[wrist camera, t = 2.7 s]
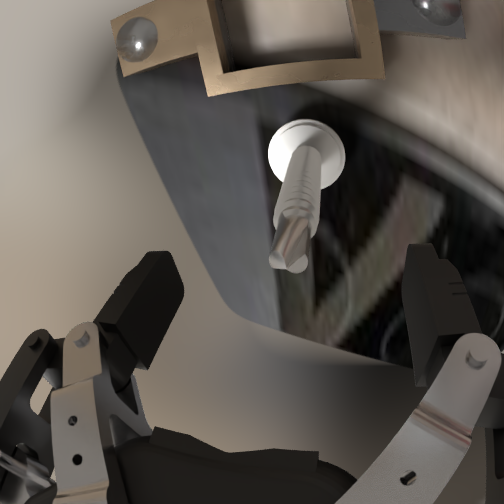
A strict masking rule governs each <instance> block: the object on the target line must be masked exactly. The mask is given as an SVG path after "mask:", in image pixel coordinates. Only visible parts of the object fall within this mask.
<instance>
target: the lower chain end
mask: <svg viewBox="0 0 504 504" xmlns="http://www.w3.org/2000/svg"><path fill="white" fill-rule="evenodd" d="M373 1H374V6H375V11H376V17H377V22H378V28H379V34H397V35H412V36H423V37H433V38H441V39H466V36H465V28H464V22H463V16H462V10H461V5H460V0H373ZM214 2H215V6H216V10H217V15H218V19H219V24H220V28H221V33H222V37H223V41H224V46H225V51H226V55H227V60H228V64H229V69H230V72H234V71H236V66H235V62H234V57H233V52H232V48H231V43H230V39H229V34H228V30H227V25H226V21H225V16H224V12H223V7H222V3H221V0H214ZM346 5H347V10H348V15H349V20H350V25H351V31H352V37H353V43H354V49H355V56H356V58H358V51H357V44H356V38H355V32H354V27H353V21H352V16H351V11H350V6H349V1H348V0H346ZM346 59H354V58H346ZM326 60H330V59H326ZM313 61H315V60H313ZM302 62H304V61H302ZM292 63H294V62H292ZM284 64H285V63H284ZM276 65H277V64H276ZM269 66H270V65H269ZM262 67H263V66H262ZM256 68H257V67H256ZM250 69H251V68H250ZM244 70H245V69H244ZM238 71H240V70H238Z"/></svg>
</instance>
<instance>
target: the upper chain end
mask: <svg viewBox="0 0 504 504" xmlns="http://www.w3.org/2000/svg"><path fill="white" fill-rule="evenodd" d="M348 1H349V6H350V11H351V16H352V21H353V27H354V32H355V38H356V44H357V51H358V58H354V59H330V60H315V61H304V62H294V63H285V64H277V65H270V66H263V67H257V68H251V69H245V70H240V71H234V72H230V69H229V64H228V60H227V55H226V51H225V46H224V41H223V37H222V33H221V28H220V24H219V19H218V15H217V10H216V6H215V2H214V0H155V1H152V2H150V3H148V4H145V5H143V6H141V7H138V8H136V9H134V10H132V11H130V12H127V13H125V14H123V15H121V16H119V17H117V18H115V19H113V20H111V26H112V30H113V35H114V39H115V44H116V48H117V52H118V56H119V60H120V64H121V68H122V72H123V76H124V77H126V76H130V75H134V74H139V73H143V72H147V71H150V70H153V69H156V68H159V67H162V66H165V65H168V64H171V63H175V62H178V61H181V60H185V59H188V58H192V57H196V56H199V60H200V64H201V68H202V73H203V77H204V81H205V86H206V90H207V94H208V97H209V96H214V95H219V94H224V93H229V92H235V91H241V90H247V89H253V88H260V87H267V86H274V85H282V84H291V83H301V82H312V81H326V80H346V79H385V71H384V62H383V55H382V47H381V40H380V34H379V28H378V22H377V17H376V11H375V6H374V1H373V0H348Z"/></svg>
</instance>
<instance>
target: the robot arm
mask: <svg viewBox="0 0 504 504" xmlns="http://www.w3.org/2000/svg"><path fill="white" fill-rule="evenodd" d="M183 297H184V285H183V282H182V280H181V277H180V275H179V272H178V270H177V267H176V265H175V262H174V260H173V257H172V255H171V253H170V252H168V251H149V252H147V253H146V254H145V256H144V257H143V258H142V260H141V261H140V262H139V264H138V265H137V266H136V267H134V268H133V269H132V270H131V271H130V272H128V273H127V274H126V275H125V277H124V278H123V279H122V281H121V282H120V285H119V286H117V288H116V289H115V291H114V294H112V295H111V296H110V298H109V299H108V301H107V302H106V303H105V305H104V306H103V308H102V309H101V311H100V312H99V314H98V315H97V317H96V318H95V319H94V321H93V322H84V323H81V324H79V325H77V326H75V327H74V328H73V329H72V330H71V331H70V332H69V333H68V334H67V336H66V338H60V339H53V337H52V336H51V335H50V334H49V333H48V331H47V330H45V329H39V330H36V331H34V332H33V333H32V334H30V335H29V336H28V337H27V339H26V340H25V341H24V343H23V345H22V346H21V348H20V349H19V351H18V352H17V354H16V355H15V357H14V359H13V360H12V362H11V364H10V365H9V367H8V369H7V370H6V372H5V374H4V375H3V377H2V379H1V381H0V504H433V503H434V501H435V500H436V498H437V497H438V496H439V494H440V493H441V491H442V490H443V489H444V487H445V486H446V484H447V483H448V481H449V479H450V478H451V476H452V475H453V473H454V472H455V470H456V469H457V467H458V465H459V463H460V462H461V460H462V459H463V457H464V455H465V453H466V452H467V450H468V448H469V446H470V443H471V440H472V437H471V436H470V434H471V432H472V429H473V427H474V426H479V427H485V439H486V467H487V468H486V502H485V504H504V354H502V353H500V350H499V348H498V346H497V345H496V343H495V342H494V341H493V340H492V339H490V338H489V337H487V336H485V335H483V334H482V332H481V329H480V326H479V324H478V321H477V318H476V315H475V312H474V310H473V307H472V304H471V302H470V299H469V297H468V295H467V292H466V289H465V287H464V284H462V279H461V277H460V275H459V273H458V270H457V269H456V268H455V267H454V266H453V265H452V264H451V263H450V262H449V261H448V260H447V259H438V256H437V254H436V252H435V249H434V247H433V245H432V244H431V243H430V244H409V245H408V248H407V255H406V262H405V269H404V275H403V281H402V300H403V306H404V311H405V316H406V321H407V327H408V333H409V339H410V345H411V352H412V359H413V367H414V374H415V384H416V387H420V386H427V393H426V395H425V396H424V398H423V399H422V401H421V403H420V404H419V405H418V407H416V409H415V410H414V411H413V413H412V414H411V416H410V417H409V418H408V420H407V421H406V422H405V424H404V425H403V427H402V428H401V429H400V431H399V432H398V433H397V435H396V436H395V437H394V439H393V440H392V441H391V442H390V444H389V445H388V446H387V447H386V449H385V450H384V451H383V452H382V453H381V455H380V456H379V457H378V458H377V459H376V460H375V462H374V463H373V464H372V465H371V466H370V467H369V469H368V470H367V471H366V472H365V473H364V474H363V475H362V476H361V477H360V478H359V479H358V480H357V479H356V478H355V477H353V476H352V475H351V474H349V473H348V472H347V471H345V470H343V469H341V468H340V467H338V466H335V465H333V464H331V463H328V462H324V461H321V460H319V452H318V451H298V450H285V449H267V450H257V451H246V452H235V453H234V452H233V453H228V452H224V451H222V450H219V449H217V448H215V447H213V446H211V445H208V444H207V443H204V442H202V441H200V440H198V439H196V438H194V437H192V436H191V435H188V434H183V433H179V432H175V431H171V430H167V429H163V428H159V427H156V426H155V427H154V430H153V431H152V429H151V428H150V426H149V425H148V423H147V420H146V418H145V414H144V410H143V406H142V403H141V399H140V395H139V390H138V386H137V382H136V378H135V376H134V375H133V371H134V369H135V368H139V369H143V370H148V369H149V367H150V365H151V363H152V361H153V358H154V356H155V354H156V352H157V350H158V348H159V346H160V344H161V342H162V340H163V338H164V336H165V334H166V332H167V330H168V328H169V326H170V324H171V322H172V320H173V318H174V316H175V314H176V312H177V310H178V308H179V306H180V304H181V302H182V300H183ZM42 376H43V377H44V378H45V379H46V380H47V381H48V382H49V383H50V384H51V385H52V386H53V388H52V389H51V391H50V394H49V395H48V397H47V399H46V401H45V403H44V405H43V407H42V409H41V412H40V413H39V415H37V414H36V413H35V412H33V411H32V409H31V407H30V398H31V396H32V394H33V393H34V391H35V389H36V387H37V385H38V383H39V381H40V380H41V378H42ZM16 445H17V446H16ZM54 467H55V475H56V482H55V481H54V480H53V479H51V478H50V477H51V475H52V472H53V469H54Z"/></svg>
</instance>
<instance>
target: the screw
mask: <svg viewBox="0 0 504 504" xmlns="http://www.w3.org/2000/svg"><path fill="white" fill-rule="evenodd" d="M268 154H269V162H270V166H271V168H272V170H273V172H274V173H275V175H276V176H277V177H278V178H279V179H280V180H281V181H282V182H283V184H282V188H281V191H280V194H279V198H278V200H277V204H276V207H275V214H274V219H273V221H274V226H275V229H276V233H275V237H274V241H273V244H272V248H271V252H270V255H269V262H270V265H271V267H272V268H278V269H287V270H289V271H290V272H292V273H300V272H302V271H304V270H305V269H306V267H307V265H308V256H309V247H310V238H312V237H313V236H314V234H315V233H316V229H317V225H318V223H319V214H320V194H321V193H320V190H321V189H323V188H325V187H327V186H329V185H331V184H332V183H333V182H334V181H336V179H337V178H338V177H339V176H340V174H341V172H342V170H343V168H344V163H345V150H344V146H343V143H342V141H341V139H340V137H339V135H338V134H337V133H336V132H335V131H334V130H333V129H332V128H331V127H329V126H328V125H327V124H325V123H323V122H320V121H318V120H314V119H297V120H293V121H290V122H288V123H286V124H285V125H283V126H282V127H281V128H279V129H278V131H277V132H276V133H275V134H274V136H273V138H272V140H271V142H270V146H269V150H268Z"/></svg>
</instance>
